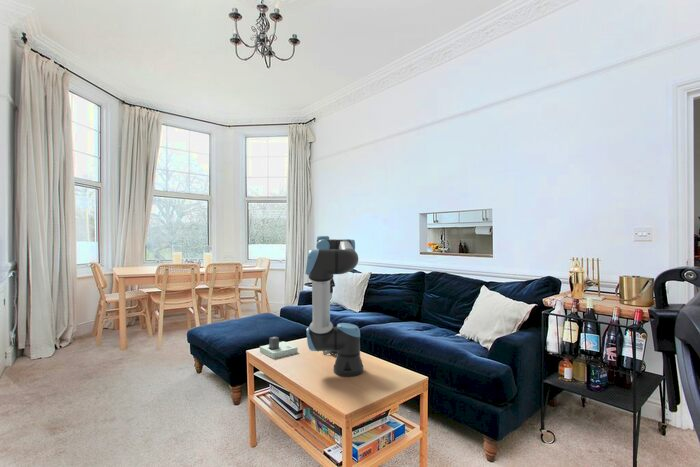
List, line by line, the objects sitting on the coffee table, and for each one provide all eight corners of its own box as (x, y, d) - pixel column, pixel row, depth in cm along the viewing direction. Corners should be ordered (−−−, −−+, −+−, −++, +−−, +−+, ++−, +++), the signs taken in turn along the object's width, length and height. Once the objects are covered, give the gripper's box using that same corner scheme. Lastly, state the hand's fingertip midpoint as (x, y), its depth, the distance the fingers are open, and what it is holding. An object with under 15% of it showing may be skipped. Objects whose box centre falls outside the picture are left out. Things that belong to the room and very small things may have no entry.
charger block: (278, 353, 206) (278, 337, 206) (272, 354, 203) (272, 338, 203) (275, 351, 209) (275, 336, 209) (269, 353, 206) (269, 337, 206)
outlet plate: (297, 352, 207) (297, 347, 207) (273, 358, 196) (273, 353, 197) (283, 346, 219) (283, 341, 219) (259, 351, 209) (259, 346, 209)
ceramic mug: (337, 349, 212) (337, 336, 212) (342, 353, 205) (342, 340, 205) (320, 352, 209) (320, 339, 209) (325, 356, 201) (324, 342, 201)
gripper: (341, 262, 205) (341, 299, 205) (316, 260, 224) (315, 293, 224) (330, 263, 200) (330, 300, 200) (306, 260, 219) (306, 295, 219)
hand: (323, 297), depth 212 cm, fingers open, 13 cm apart
